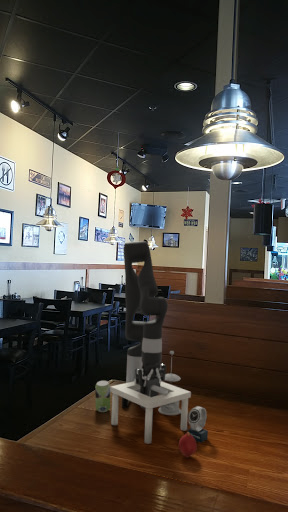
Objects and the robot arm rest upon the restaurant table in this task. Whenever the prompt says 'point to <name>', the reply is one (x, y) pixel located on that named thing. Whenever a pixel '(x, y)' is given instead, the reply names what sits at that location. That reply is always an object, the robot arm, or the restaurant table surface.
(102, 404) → the beverage can
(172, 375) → the french press
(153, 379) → the grey u-shaped bracket
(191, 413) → the watch
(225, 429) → the restaurant table surface
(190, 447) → the onion
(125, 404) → the mobile phone
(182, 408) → the square frame stand
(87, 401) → the restaurant table surface
